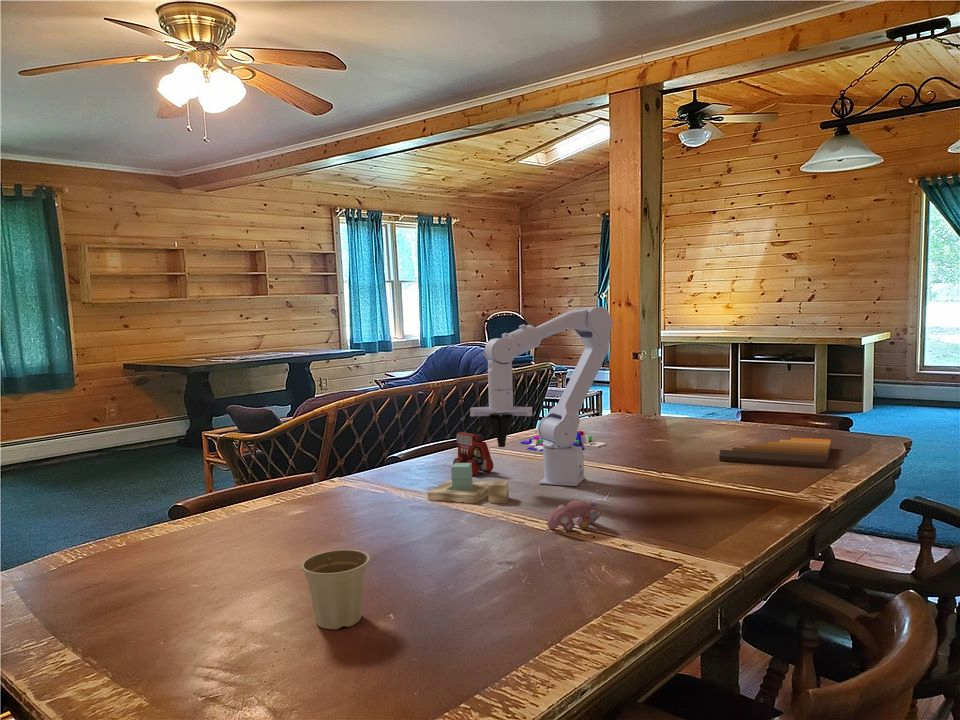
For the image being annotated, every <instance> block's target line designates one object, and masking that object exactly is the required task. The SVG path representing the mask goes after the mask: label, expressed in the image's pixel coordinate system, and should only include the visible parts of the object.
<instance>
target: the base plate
mask: <svg viewBox="0 0 960 720" xmlns="http://www.w3.org/2000/svg"><path fill="white" fill-rule="evenodd" d="M472 482H473V488H472V490H470V491H458V490H452V478H451V479H449V480H448V481H446V482H444V483H442V484H440V485H438V486H436V487H435V488H433V489H431V490H429V491H427V500H428V499H429V501H437V500H442V501H441V502H449V501H455V502H454V503H461V502H464V503H463V504H474V503H476V504H477V503H478V501H479V502H480V501H482V500H483V499H485V498H487V497H489V496H488V485H489V483H490V481H484V480H482V481H481V480H472Z"/></svg>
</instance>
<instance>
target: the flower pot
mask: <svg viewBox="0 0 960 720" xmlns="http://www.w3.org/2000/svg"><path fill="white" fill-rule="evenodd" d="M370 561H371V559H370V555H369V554H368V553H367V552H365V551H361V550H357V549H335V550H326V551H322V552H320V553H319V552H318V553H315V554H313V555H311V556H309V557H308V558H306V559H305V560H303V562H302V563H301V570H302V571H303V572H304V576H305V578H306V580H307V581H308V585H309V592H310V595H311V600H312V604H313V605H312V606H313V611H314V616H315V622H316V623H317V625H318V626H319V627H320V628H322V629H326V630H327V629H328V630H339V629H340V628H342V627H348V628H350V627H352V626H354V625H355V624H357V623H358V622H359V621H360V620H361V618H362V611H363V598H364V597H363V596H364V587H365V586H364V585H365V576H366V572H367V569H368V568H367V567H368V565H369V563H370Z"/></svg>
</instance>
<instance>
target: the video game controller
mask: <svg viewBox="0 0 960 720" xmlns="http://www.w3.org/2000/svg"><path fill="white" fill-rule="evenodd" d="M601 515H602V510H601V508H600V507H599V506H598V504H596V503H594V501H593V500H588V501H584V500H572V501H569V502H566V504H562V503H561V504H559V505H558V507H556V508H555V509H553V511H552V513H551V514H550V515H549V516H548V518H547V520H546V521H547V522H546V525H547V528H548V530H549V529H550V530H555V529H556V528H558V527H559V526H561V527H562V528H563V530H564V531H565V532H570V531H572V530H573V529H574V527H575V522H574V520H573V519H576V518H577V520H576V523H577V525H578V527H579V529H581V530H582V529H583V530H584V529H587V528H588V527H589V526H590V524H594V523H595V522H596V521H597V520H598V519H599V518H600V517H601Z"/></svg>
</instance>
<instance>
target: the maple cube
mask: <svg viewBox="0 0 960 720" xmlns="http://www.w3.org/2000/svg"><path fill="white" fill-rule="evenodd" d="M489 482H490V483H489V485H488V496H487V497H488V503H489V504H490V503H491V504H492V503H493V504H497V503H498V504H504V503H505V504H507V503H508V501H509V498H510V495H509V493H510V492H509V491H510V489H509V480H490V481H489Z"/></svg>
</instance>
